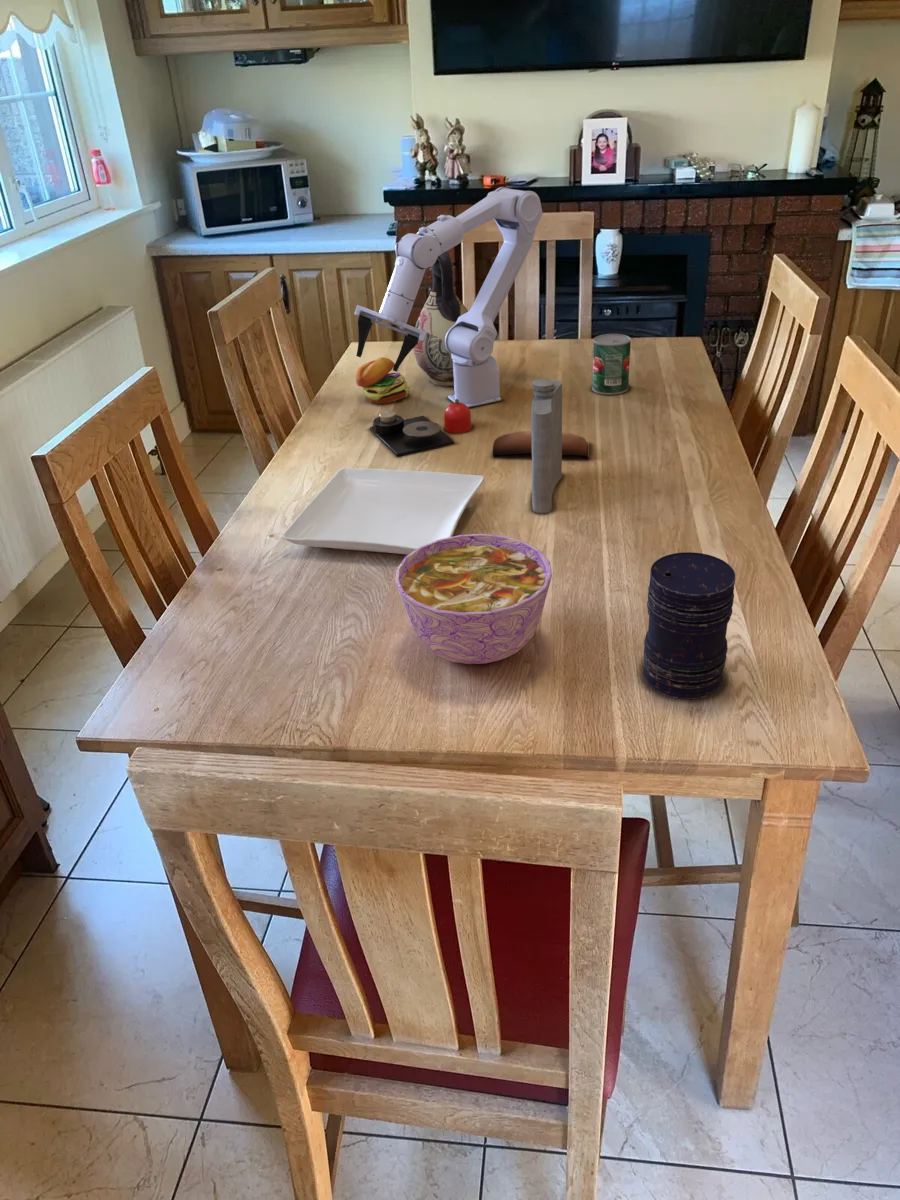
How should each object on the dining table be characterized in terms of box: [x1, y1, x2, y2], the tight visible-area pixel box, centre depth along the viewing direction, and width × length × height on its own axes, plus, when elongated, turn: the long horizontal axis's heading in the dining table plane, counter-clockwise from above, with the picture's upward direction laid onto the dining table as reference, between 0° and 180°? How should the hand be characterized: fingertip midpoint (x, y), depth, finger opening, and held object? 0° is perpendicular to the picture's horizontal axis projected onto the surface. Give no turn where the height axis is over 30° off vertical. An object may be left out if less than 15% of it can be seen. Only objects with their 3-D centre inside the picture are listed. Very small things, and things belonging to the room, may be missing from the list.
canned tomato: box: [591, 333, 632, 396], centre depth 199 cm, size 8×8×11 cm
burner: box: [403, 420, 442, 437], centre depth 183 cm, size 8×8×1 cm
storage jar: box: [642, 551, 736, 700], centre depth 111 cm, size 10×10×15 cm
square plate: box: [281, 467, 485, 555], centre depth 153 cm, size 27×27×4 cm
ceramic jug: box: [412, 251, 469, 387], centre depth 204 cm, size 17×15×30 cm
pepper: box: [443, 399, 472, 434], centre depth 186 cm, size 5×5×6 cm
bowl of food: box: [394, 533, 553, 665], centre depth 120 cm, size 20×20×12 cm
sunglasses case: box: [492, 430, 590, 459], centre depth 174 cm, size 18×7×7 cm
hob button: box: [379, 410, 397, 424], centre depth 186 cm, size 3×3×2 cm
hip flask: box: [530, 378, 563, 514], centre depth 155 cm, size 16×4×20 cm, turn 167°
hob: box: [369, 414, 455, 457], centre depth 185 cm, size 12×16×3 cm
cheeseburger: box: [355, 356, 411, 405], centre depth 203 cm, size 10×11×10 cm
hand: (376, 363), depth 182 cm, fingers open, 7 cm apart
